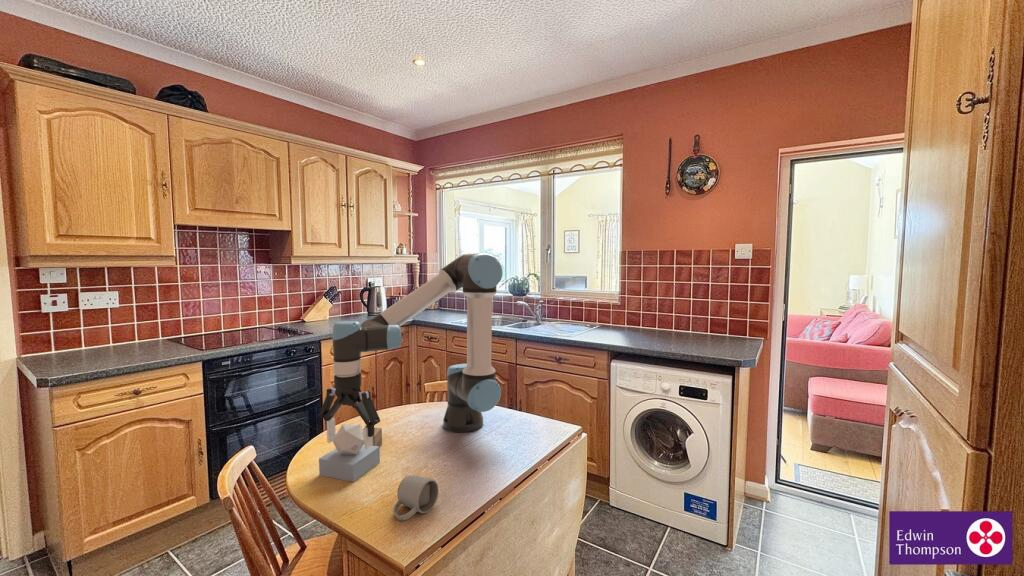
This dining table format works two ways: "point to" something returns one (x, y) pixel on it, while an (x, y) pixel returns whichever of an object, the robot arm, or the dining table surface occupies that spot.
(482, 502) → the dining table surface
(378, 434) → the walnut cube
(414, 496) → the ceramic mug
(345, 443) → the die
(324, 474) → the plinth
